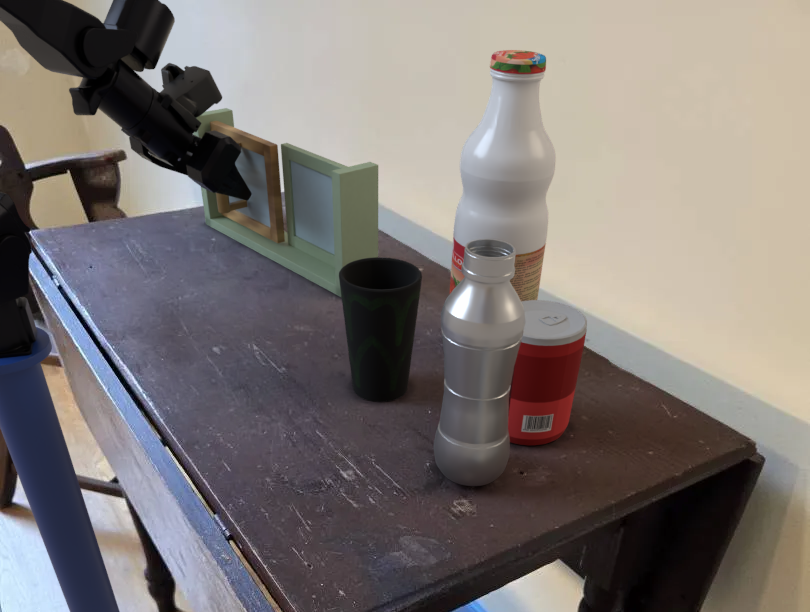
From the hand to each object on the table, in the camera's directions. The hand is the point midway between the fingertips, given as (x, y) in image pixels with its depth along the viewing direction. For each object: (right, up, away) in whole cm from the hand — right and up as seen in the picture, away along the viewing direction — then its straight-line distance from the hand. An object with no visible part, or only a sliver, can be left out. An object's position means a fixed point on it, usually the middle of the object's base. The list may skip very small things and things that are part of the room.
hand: (230, 188), depth 102 cm
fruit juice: (+32, -25, -15) cm, 44 cm away
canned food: (+35, -35, -27) cm, 57 cm away
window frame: (+7, -8, +3) cm, 11 cm away
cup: (+20, -31, -23) cm, 44 cm away
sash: (0, -4, +4) cm, 6 cm away
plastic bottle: (+29, -41, -33) cm, 60 cm away
